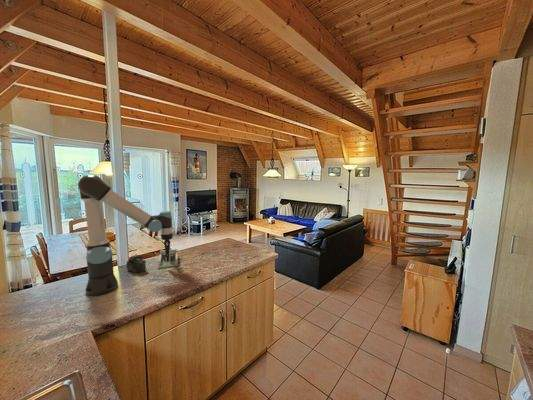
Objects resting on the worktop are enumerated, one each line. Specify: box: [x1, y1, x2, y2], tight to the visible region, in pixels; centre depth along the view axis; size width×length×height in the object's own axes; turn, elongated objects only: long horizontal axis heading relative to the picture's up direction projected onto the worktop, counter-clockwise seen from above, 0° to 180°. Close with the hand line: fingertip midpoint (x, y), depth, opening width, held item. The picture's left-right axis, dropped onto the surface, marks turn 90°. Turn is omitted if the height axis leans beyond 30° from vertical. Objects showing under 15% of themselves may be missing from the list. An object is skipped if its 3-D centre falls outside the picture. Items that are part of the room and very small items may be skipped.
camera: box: [126, 255, 147, 274], centre depth 159 cm, size 13×10×10 cm
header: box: [157, 248, 179, 270], centre depth 173 cm, size 20×13×7 cm, turn 21°
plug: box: [164, 250, 174, 261], centre depth 177 cm, size 7×6×5 cm
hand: (168, 262), depth 167 cm, fingers open, 13 cm apart
